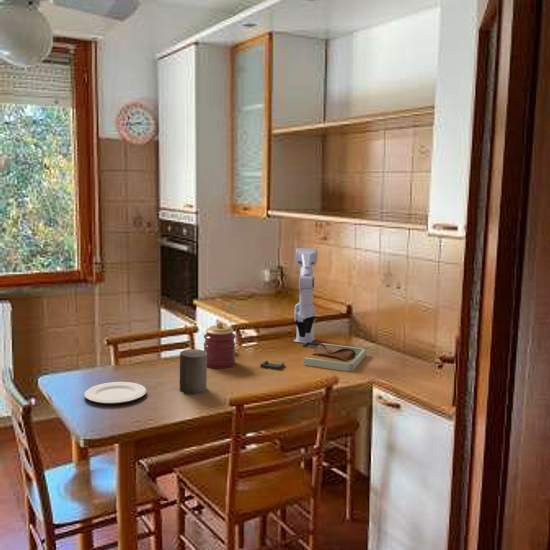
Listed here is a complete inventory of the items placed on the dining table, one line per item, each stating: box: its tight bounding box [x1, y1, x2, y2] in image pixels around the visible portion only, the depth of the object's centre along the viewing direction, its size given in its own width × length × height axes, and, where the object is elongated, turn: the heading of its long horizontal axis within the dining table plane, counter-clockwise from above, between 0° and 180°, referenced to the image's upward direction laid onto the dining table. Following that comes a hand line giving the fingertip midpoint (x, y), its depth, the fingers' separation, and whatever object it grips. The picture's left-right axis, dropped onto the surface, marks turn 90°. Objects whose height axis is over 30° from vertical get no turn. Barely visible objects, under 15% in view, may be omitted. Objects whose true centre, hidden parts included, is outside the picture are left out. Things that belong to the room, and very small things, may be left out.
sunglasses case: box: [311, 343, 356, 362], centre depth 264 cm, size 18×7×7 cm
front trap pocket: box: [260, 360, 285, 371], centre depth 247 cm, size 6×8×1 cm
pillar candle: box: [178, 348, 208, 395], centre depth 217 cm, size 10×10×15 cm
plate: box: [84, 381, 147, 405], centre depth 210 cm, size 21×21×2 cm
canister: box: [203, 321, 237, 369], centre depth 247 cm, size 13×13×18 cm
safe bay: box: [303, 342, 367, 373], centre depth 258 cm, size 25×20×3 cm
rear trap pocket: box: [302, 341, 321, 349], centre depth 277 cm, size 5×8×1 cm, turn 69°
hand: (305, 334), depth 261 cm, fingers open, 7 cm apart
